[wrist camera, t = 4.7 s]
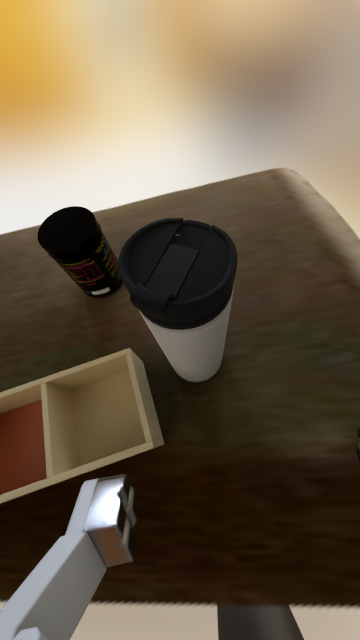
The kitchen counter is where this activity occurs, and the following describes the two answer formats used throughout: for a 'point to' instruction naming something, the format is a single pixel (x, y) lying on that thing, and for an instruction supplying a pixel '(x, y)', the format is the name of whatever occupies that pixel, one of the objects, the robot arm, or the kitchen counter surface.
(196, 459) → the kitchen counter surface
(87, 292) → the supplement container
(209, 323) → the travel mug
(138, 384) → the organiser
